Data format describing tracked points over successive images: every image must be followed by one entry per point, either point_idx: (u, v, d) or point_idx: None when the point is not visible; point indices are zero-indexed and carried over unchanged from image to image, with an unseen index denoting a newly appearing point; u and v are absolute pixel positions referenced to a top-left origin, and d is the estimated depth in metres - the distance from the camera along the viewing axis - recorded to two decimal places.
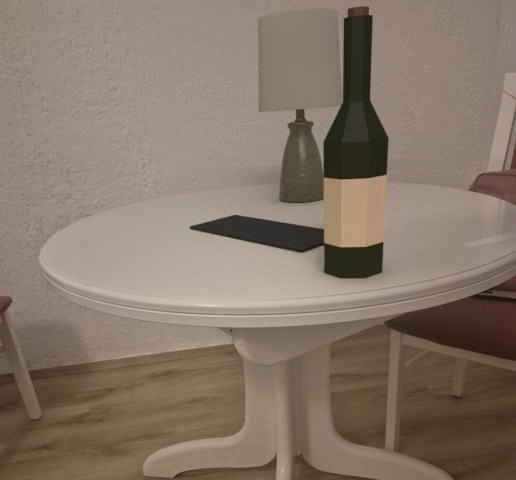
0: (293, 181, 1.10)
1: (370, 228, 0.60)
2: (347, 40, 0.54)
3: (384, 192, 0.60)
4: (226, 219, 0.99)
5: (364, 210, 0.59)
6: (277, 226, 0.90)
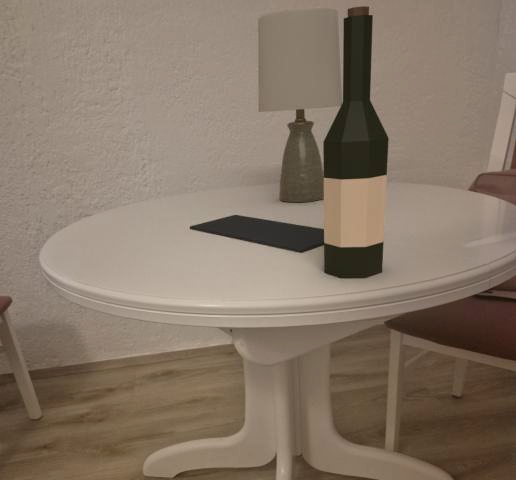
0: (293, 181, 1.10)
1: (370, 228, 0.60)
2: (347, 40, 0.54)
3: (384, 192, 0.60)
4: (226, 219, 0.99)
5: (364, 210, 0.59)
6: (277, 226, 0.90)
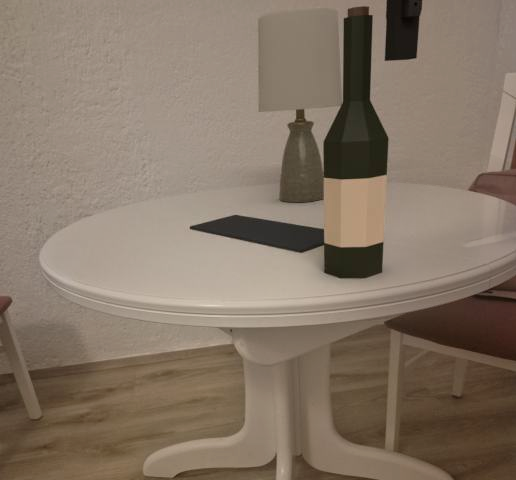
0: (293, 181, 1.10)
1: (370, 228, 0.60)
2: (347, 40, 0.54)
3: (384, 192, 0.60)
4: (226, 219, 0.99)
5: (364, 210, 0.59)
6: (277, 226, 0.90)
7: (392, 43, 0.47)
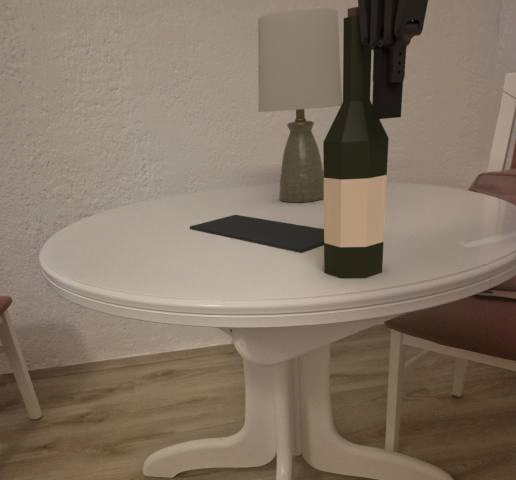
0: (293, 181, 1.10)
1: (370, 228, 0.60)
2: (347, 40, 0.54)
3: (384, 192, 0.60)
4: (226, 219, 0.99)
5: (364, 210, 0.59)
6: (277, 226, 0.90)
7: (378, 105, 0.51)
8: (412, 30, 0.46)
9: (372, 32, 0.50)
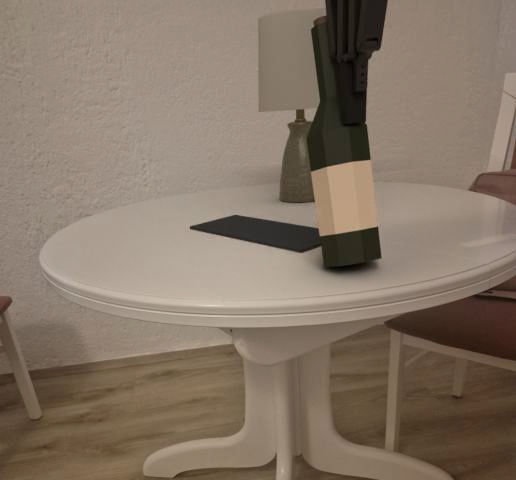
0: (293, 181, 1.10)
1: (362, 211, 0.61)
2: (316, 46, 0.59)
3: (371, 177, 0.61)
4: (226, 219, 0.99)
5: (353, 193, 0.60)
6: (277, 226, 0.90)
7: (345, 111, 0.58)
8: (372, 46, 0.52)
9: (339, 47, 0.56)
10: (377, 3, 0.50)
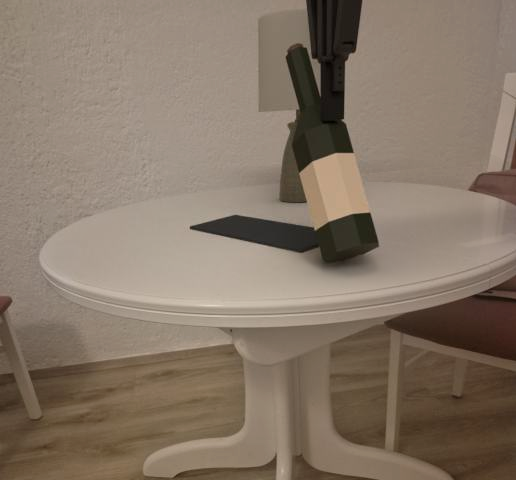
0: (293, 181, 1.10)
1: (352, 197, 0.63)
2: (291, 68, 0.67)
3: (356, 167, 0.64)
4: (226, 219, 0.99)
5: (341, 181, 0.63)
6: (277, 226, 0.90)
7: (324, 109, 0.62)
8: (347, 49, 0.57)
9: (319, 49, 0.60)
10: (352, 10, 0.54)
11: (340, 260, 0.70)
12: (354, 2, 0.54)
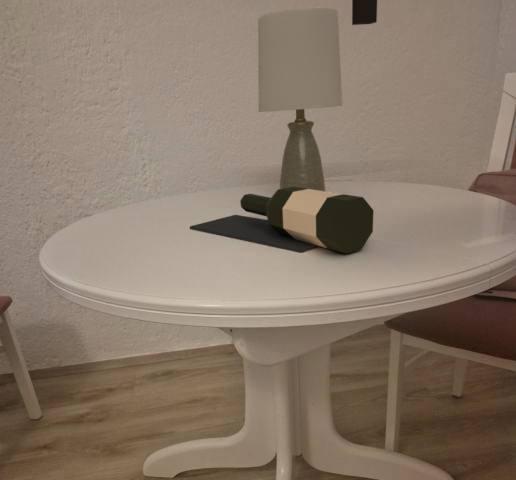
0: (293, 181, 1.10)
1: None
2: (248, 198, 0.90)
3: None
4: (226, 219, 0.99)
5: (322, 191, 0.76)
6: None
7: (357, 10, 0.61)
8: None
9: None
10: None
11: (344, 249, 0.71)
12: None
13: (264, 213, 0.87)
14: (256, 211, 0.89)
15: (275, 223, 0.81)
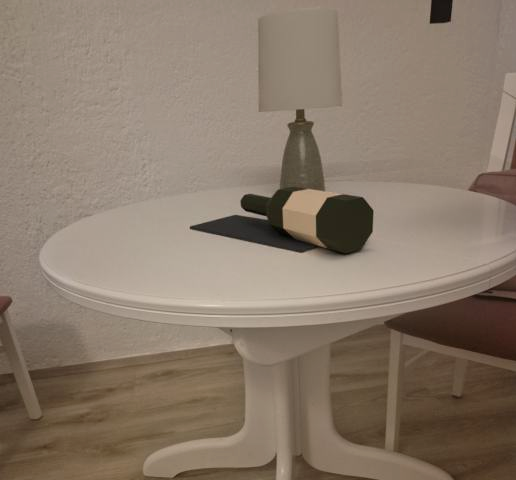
0: (293, 181, 1.10)
1: None
2: (248, 198, 0.90)
3: None
4: (226, 219, 0.99)
5: (322, 191, 0.76)
6: None
7: (435, 11, 0.72)
8: None
9: None
10: None
11: (344, 249, 0.71)
12: None
13: (264, 213, 0.87)
14: (256, 211, 0.89)
15: (275, 223, 0.81)
